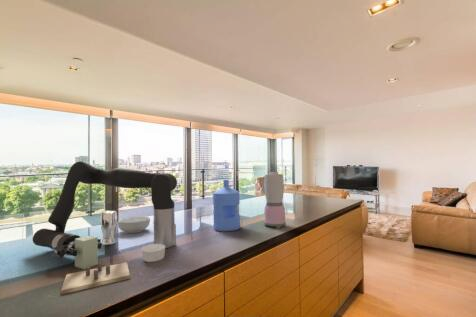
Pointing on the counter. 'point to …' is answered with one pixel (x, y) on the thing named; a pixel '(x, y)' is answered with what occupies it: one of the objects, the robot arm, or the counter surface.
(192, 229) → the counter surface
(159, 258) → the ramekin
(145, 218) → the cereal bowl
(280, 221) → the blender
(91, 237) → the green block
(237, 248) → the counter surface
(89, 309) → the counter surface
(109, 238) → the beer glass
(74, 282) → the peg board
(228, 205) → the water jug
